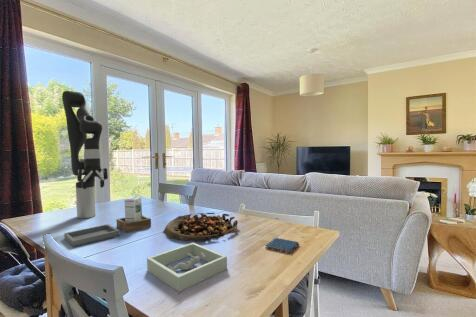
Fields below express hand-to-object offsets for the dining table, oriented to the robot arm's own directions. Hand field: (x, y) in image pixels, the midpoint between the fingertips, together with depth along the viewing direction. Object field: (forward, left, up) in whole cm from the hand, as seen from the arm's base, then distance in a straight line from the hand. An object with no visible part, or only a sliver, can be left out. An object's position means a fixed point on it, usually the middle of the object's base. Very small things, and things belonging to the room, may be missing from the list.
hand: (93, 188), depth 137 cm
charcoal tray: (+27, -9, -18) cm, 33 cm away
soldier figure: (+82, +2, -18) cm, 84 cm away
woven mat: (+95, +38, -19) cm, 104 cm away
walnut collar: (+26, +10, -18) cm, 33 cm away
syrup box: (+26, +10, -18) cm, 33 cm away
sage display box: (+83, +2, -18) cm, 85 cm away
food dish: (+54, +30, -19) cm, 64 cm away
